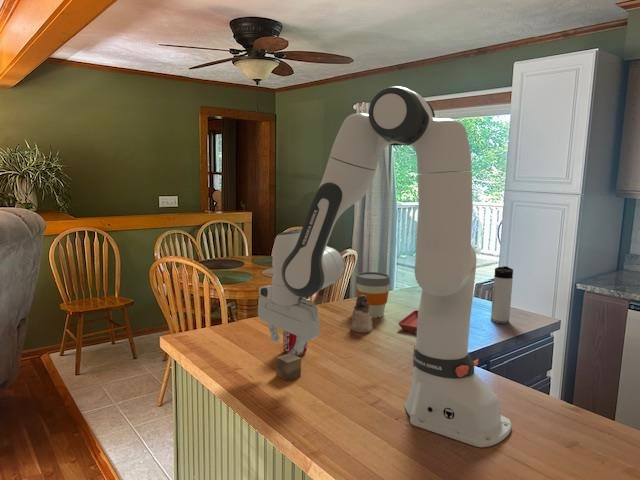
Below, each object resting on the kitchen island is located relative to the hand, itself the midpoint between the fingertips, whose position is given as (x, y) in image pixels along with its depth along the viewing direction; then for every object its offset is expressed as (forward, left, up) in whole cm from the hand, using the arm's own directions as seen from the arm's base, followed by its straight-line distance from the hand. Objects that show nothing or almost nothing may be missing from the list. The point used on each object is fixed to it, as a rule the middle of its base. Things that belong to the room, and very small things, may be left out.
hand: (286, 346), depth 122 cm
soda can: (+10, -12, -8) cm, 18 cm away
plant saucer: (-4, -62, -9) cm, 63 cm away
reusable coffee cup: (+20, -59, -8) cm, 63 cm away
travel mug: (-16, -89, -8) cm, 91 cm away
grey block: (-1, 0, -8) cm, 8 cm away
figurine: (+11, -43, -8) cm, 45 cm away
